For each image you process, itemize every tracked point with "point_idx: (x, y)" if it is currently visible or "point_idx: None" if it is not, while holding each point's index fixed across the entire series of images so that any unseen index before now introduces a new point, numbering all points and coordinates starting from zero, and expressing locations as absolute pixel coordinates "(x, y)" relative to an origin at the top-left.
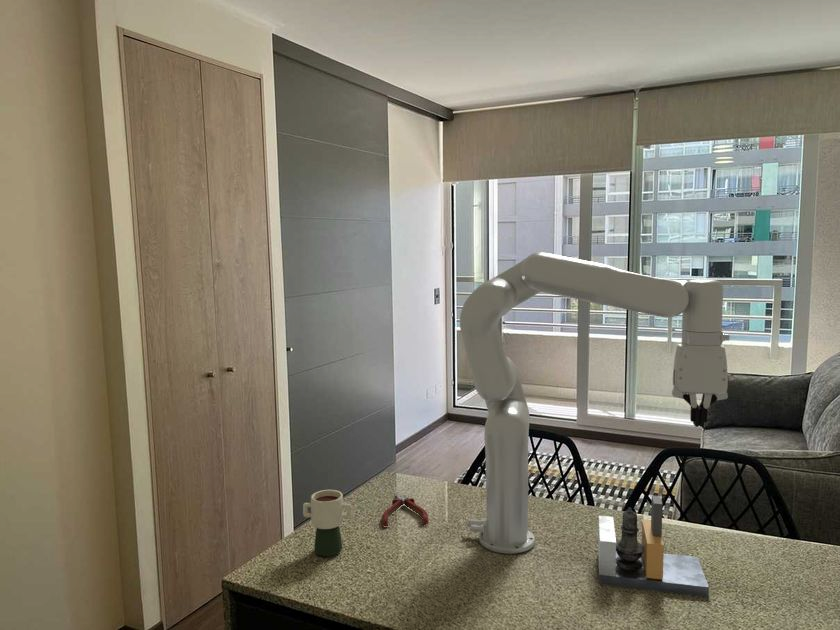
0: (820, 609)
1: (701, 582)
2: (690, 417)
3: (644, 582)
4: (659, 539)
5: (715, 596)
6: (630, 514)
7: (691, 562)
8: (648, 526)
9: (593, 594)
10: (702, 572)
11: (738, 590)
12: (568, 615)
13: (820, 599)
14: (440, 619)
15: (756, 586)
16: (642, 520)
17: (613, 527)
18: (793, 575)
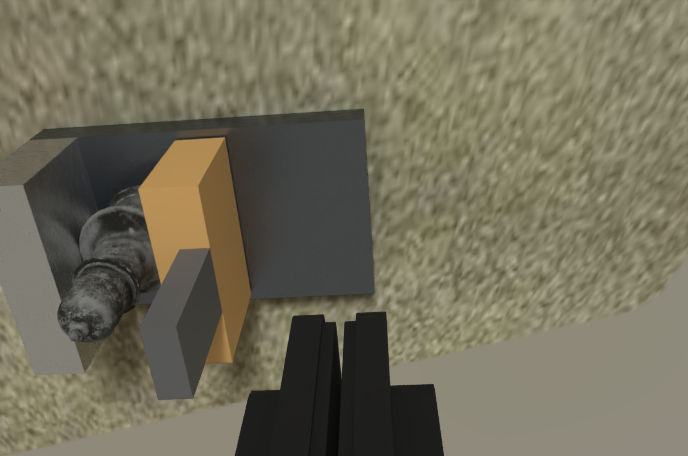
0: (656, 257)
1: (356, 275)
2: (248, 410)
3: None
4: (216, 330)
5: (392, 267)
6: (87, 341)
7: (339, 166)
8: (169, 244)
9: None
10: (366, 219)
11: (463, 221)
12: (61, 421)
13: (684, 207)
14: None
15: (522, 185)
16: (140, 196)
17: (49, 274)
18: (671, 80)
